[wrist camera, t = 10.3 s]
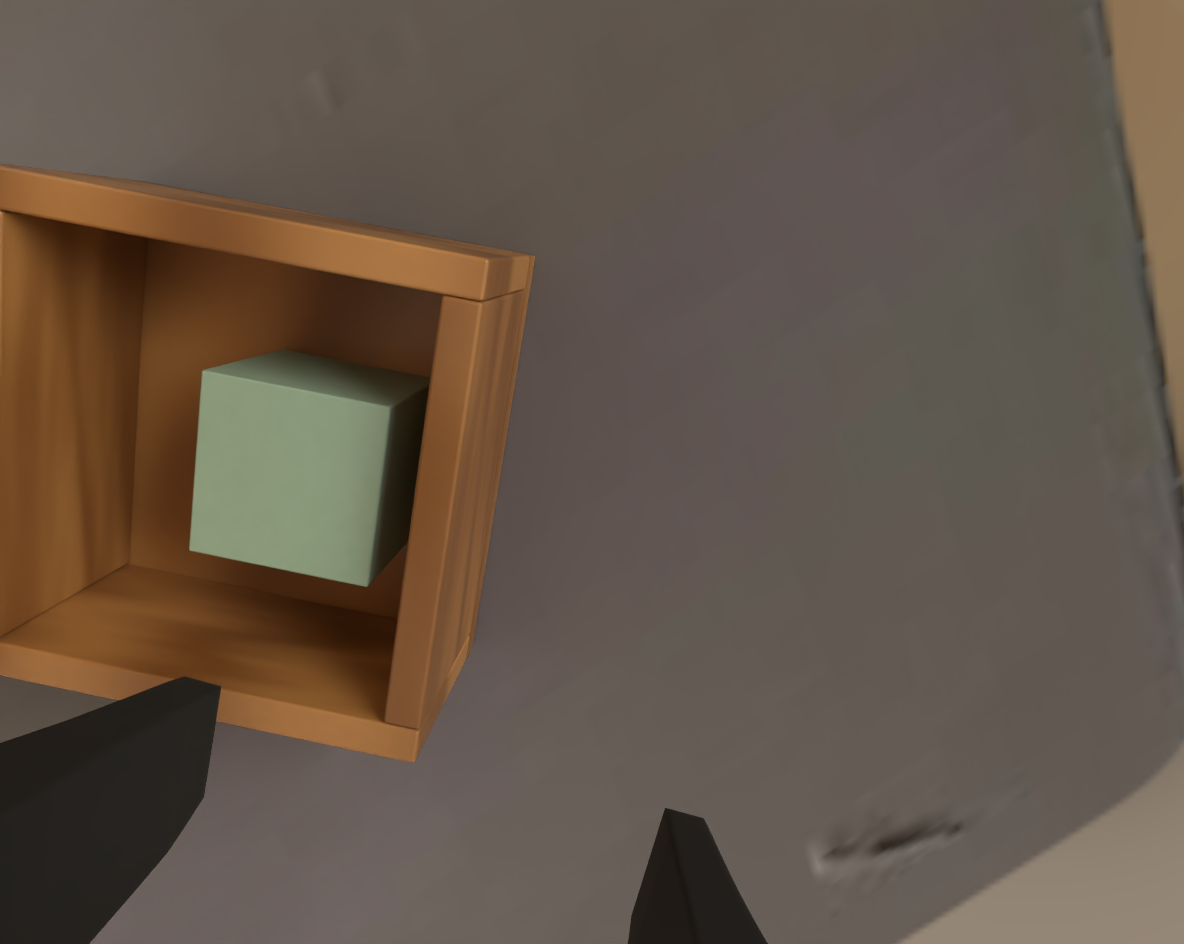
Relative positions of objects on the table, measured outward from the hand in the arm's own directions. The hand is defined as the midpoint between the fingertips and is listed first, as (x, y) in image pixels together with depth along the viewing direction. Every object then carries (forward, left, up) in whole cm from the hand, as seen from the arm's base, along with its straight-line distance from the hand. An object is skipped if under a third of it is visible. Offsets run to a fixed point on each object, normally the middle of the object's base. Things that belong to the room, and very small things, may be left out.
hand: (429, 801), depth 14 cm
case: (-3, -6, -10) cm, 12 cm away
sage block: (-3, -5, -10) cm, 11 cm away
